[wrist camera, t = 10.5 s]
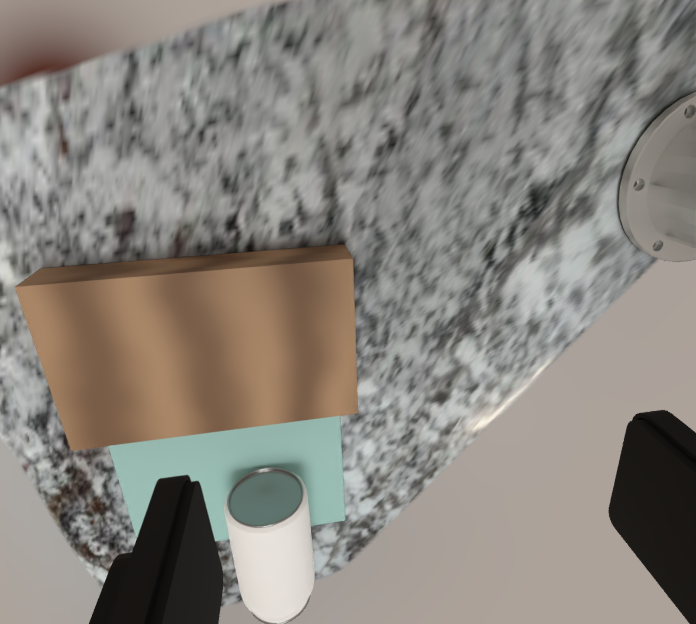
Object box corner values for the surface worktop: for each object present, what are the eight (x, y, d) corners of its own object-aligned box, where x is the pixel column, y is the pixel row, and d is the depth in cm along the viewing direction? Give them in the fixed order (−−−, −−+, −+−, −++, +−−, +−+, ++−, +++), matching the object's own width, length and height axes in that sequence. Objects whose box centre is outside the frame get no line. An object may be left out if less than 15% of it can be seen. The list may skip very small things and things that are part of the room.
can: (324, 497, 36) (330, 596, 41) (278, 452, 40) (289, 546, 45) (249, 547, 32) (267, 648, 37) (208, 491, 37) (229, 588, 42)
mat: (337, 389, 38) (338, 392, 37) (344, 516, 43) (345, 520, 43) (102, 418, 35) (101, 421, 35) (142, 549, 41) (141, 553, 41)
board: (344, 244, 33) (352, 258, 30) (350, 388, 38) (357, 413, 35) (40, 268, 30) (14, 286, 27) (88, 419, 35) (71, 450, 32)
